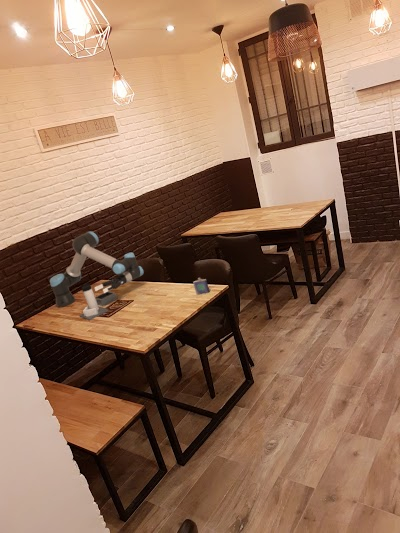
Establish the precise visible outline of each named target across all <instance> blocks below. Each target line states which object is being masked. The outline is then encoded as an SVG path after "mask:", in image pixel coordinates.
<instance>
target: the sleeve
mask: <svg viewBox="0 0 400 533" xmlns="http://www.w3.org/2000/svg"><path fill="white" fill-rule="evenodd" d="M95 299H96V302H97V304H98V306H99V307H104V306H106V305H108V304H110V303H112V302H114V301H116V300H118V297H117V293H116V292H113V291H108V292H106V293H104V292H103V293H100V294H99V295H96V296H95Z"/></svg>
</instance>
